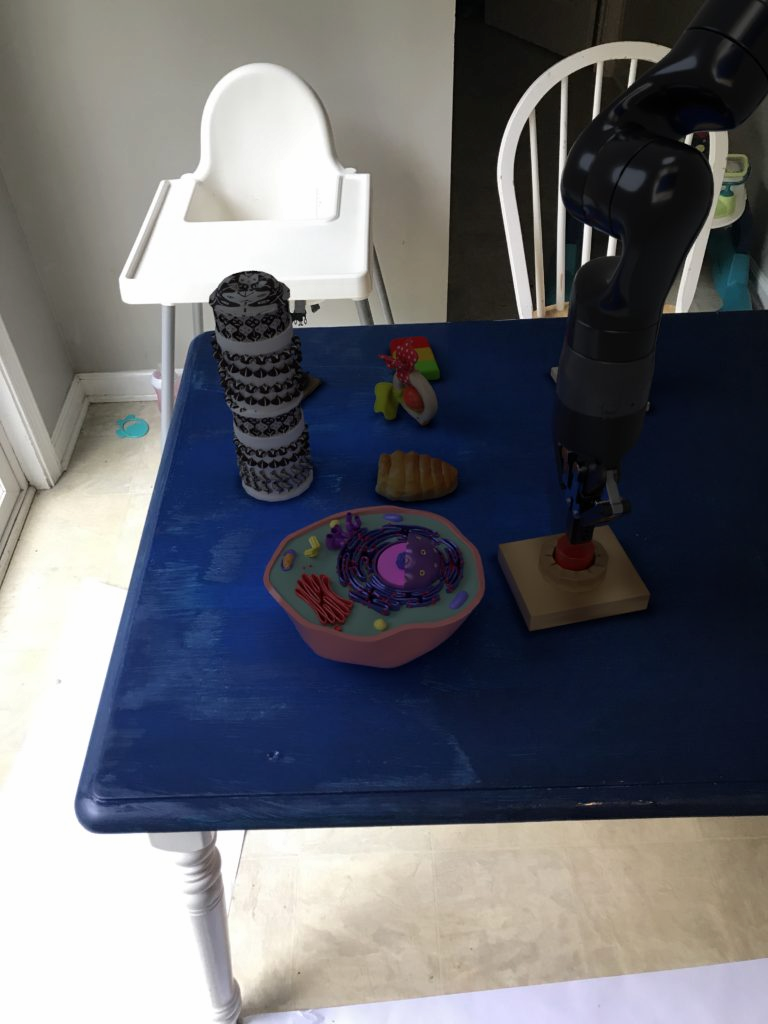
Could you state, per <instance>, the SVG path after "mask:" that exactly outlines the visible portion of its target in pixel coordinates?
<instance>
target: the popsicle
mask: <svg viewBox="0 0 768 1024" xmlns="http://www.w3.org/2000/svg"><path fill="white" fill-rule="evenodd" d="M409 338H412V339H413V349H414V350H415V351H416V352H417V354H418V357H419V359H418V361H417V363H416V364H415V366H414V367H415V368H417V369H418V370H419V372H420V373H421V374H422V375H423V376H424V377H425V378H426V379H427V381H428V382H429V381H437V380H440V377H441V371H440V369H439V366H438V363H437V360H436V357H435V355H434V352H433V350H432V347H431V344H430V342H429V339H428V338H426V337H425V336H422V335H417V336H415V335H414V336H406V337H399V338H394V339H393V340H391V341H390V343H389V353H390V356H391V357H392V358H394V359H396V347H397V346H398V345H401V346H402V345H403V344H404V343H405V341H406V340H407V339H409ZM396 371H397V369H395V372H396Z"/></svg>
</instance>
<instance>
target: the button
mask: <svg viewBox="0 0 768 1024" xmlns="http://www.w3.org/2000/svg"><path fill="white" fill-rule="evenodd" d="M594 550H595V547H594V544H593V542H592V541H591V542H587V543H582V544H577V545H572V544H571V543H570V541H569V539H568V537H567V536H566V535H563V536H562V537H561V538H560V539H559V540H558V542H557V547H556V553H555V559H556V561H557V563H558V564H559V565H560V566H561V567H562V568H564V569H567V570H572V571H582V570H585V569H587V568H588V567H590V565H591V564H592V561H593V555H594Z"/></svg>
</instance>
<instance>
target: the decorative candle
mask: <svg viewBox="0 0 768 1024" xmlns="http://www.w3.org/2000/svg"><path fill="white" fill-rule="evenodd" d="M290 298H291V289H290V288H289V287H288V285H286V284H285V282H282V281H280V280H278V279H277V278H276V277H275V276H274V275H273V274H271V273H268V272H266V271H263V270H242V271H239V272H235V273H232V274H230V275H228V276H226V277H225V278H223V279H222V280H221V281H220V282H219V284H218V285H217V286H216V287H215V289H214V290H213V291H212V292H211V293H210V294H209V297H208V305H209V306H210V307H211V309H212V314H213V318H214V324H215V325H214V332H213V333H212V334H210V338H211V339H212V340H211V341H210V345H211V346H212V349H213V351H212V354H211V355H212V357H213V358H214V359H216V360H217V361H216V366H217V367H218V368H217V374H218V375H219V377H220V378H221V379H220V381H219V385H220V387H222V388H224V389H223V393H224V395H225V396H224V402H225V403H226V405H227V406H228V407H229V409H230V411H231V412H232V416H233V423H232V425H233V431H232V434H233V438H232V442H233V444H234V445H235V447H236V449H235V450H234V453H235V455H237V457H236V458H237V462H236V464H237V468H239V472H238V473H239V477H240V479H241V484H242V487H243V489H244V490H245V492H246V493H247V495H250V496H251V497H252V498H255V499H256V500H260V501H265V502H272V503H273V502H283V501H288V500H290V499H293V498H296V497H298V496H301V494H303V493H304V492H305V491H307V490H308V489H309V487H310V486H311V484H312V483H313V480H314V471H313V469H314V467H313V465H311V464H310V463H312V462H313V457H312V456H313V455H311V454H309V453H311V451H312V448H311V442H310V441H309V440H310V433H309V431H308V429H309V424H308V422H305V415H304V414H305V413H304V409H302V405H301V403H302V401H301V399H302V397H303V390H304V385H303V384H304V381H303V379H301V378H302V376H303V367H302V366H301V365H300V363H302V362H303V356H302V355H303V351H302V350H301V349H300V348H301V347H302V341H301V339H300V336H298V335H296V334H295V333H294V325H293V317H292V315H291V314H290V307H289V306H290V305H289V299H290ZM300 401H301V403H300Z"/></svg>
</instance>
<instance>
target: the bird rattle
mask: <svg viewBox="0 0 768 1024" xmlns="http://www.w3.org/2000/svg"><path fill="white" fill-rule="evenodd" d="M378 358H379V359H381V360H384V361H385V366H386V368H387V369H389V370H393V369H395V373H394V374H393V377H392V382H387V381H384V382H383V381H380V382H378V383H376V385H375V387H374V395H375V400H374V401H375V402H374V405H373V410H374V413H376V414H379V413H383V417H384V418H385V420H387V421H393V420H395V419H396V418H397V412H398V407H399V404H400V405H401V406H402V408H403V409H404V410H405V411H406V412H407V413H408V414H409V415H410V417H412V418H413V419H415V420H416V422H418V423H419V424H420V425H421V426H424V427H425V426H427V425H428V424H429V423H430V421H431V420H432V419H433V418H434V417H435V416H436V414H437V413H438V408H439V404H438V402H439V401H438V398H437V395H436V392H435V389H433V387H432V385H431V383H430V382H429V381H427V379H426V378H425V377H424V376H423V375H422V374H421V373H420V372H419V370H418V369H417V368H415V367H414V366H415V364H416V363H417V361H418V359H419V357H418V354H417V352H416V351H415V350H414V349H413V339H412V338H409V339H407V340H406V341H405V343H404V344H403V345H402V346H401V345H398V346H397V347H396V359H394V358H392V356H391V355H386V354H382V353H380V354H378ZM396 369H397V371H396Z"/></svg>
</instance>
